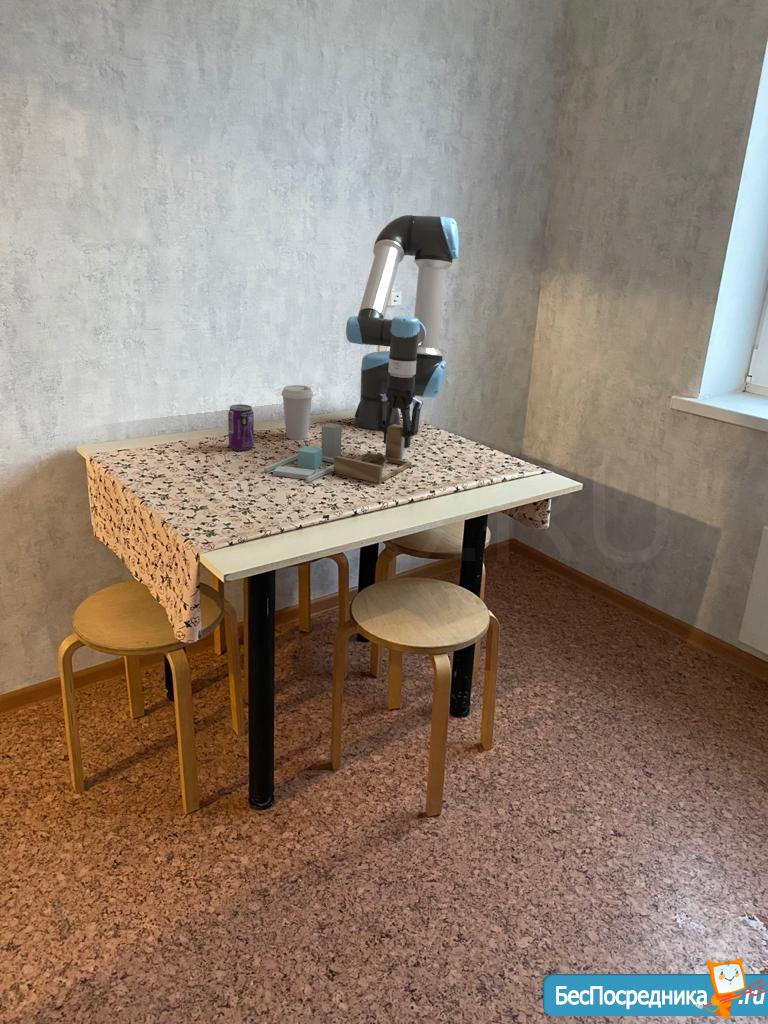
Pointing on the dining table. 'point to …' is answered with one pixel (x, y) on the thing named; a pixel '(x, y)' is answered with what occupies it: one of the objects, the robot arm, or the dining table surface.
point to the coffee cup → (297, 410)
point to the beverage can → (241, 427)
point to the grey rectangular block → (293, 472)
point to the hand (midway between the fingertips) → (395, 456)
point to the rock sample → (376, 459)
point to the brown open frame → (372, 470)
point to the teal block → (310, 458)
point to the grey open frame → (329, 450)
